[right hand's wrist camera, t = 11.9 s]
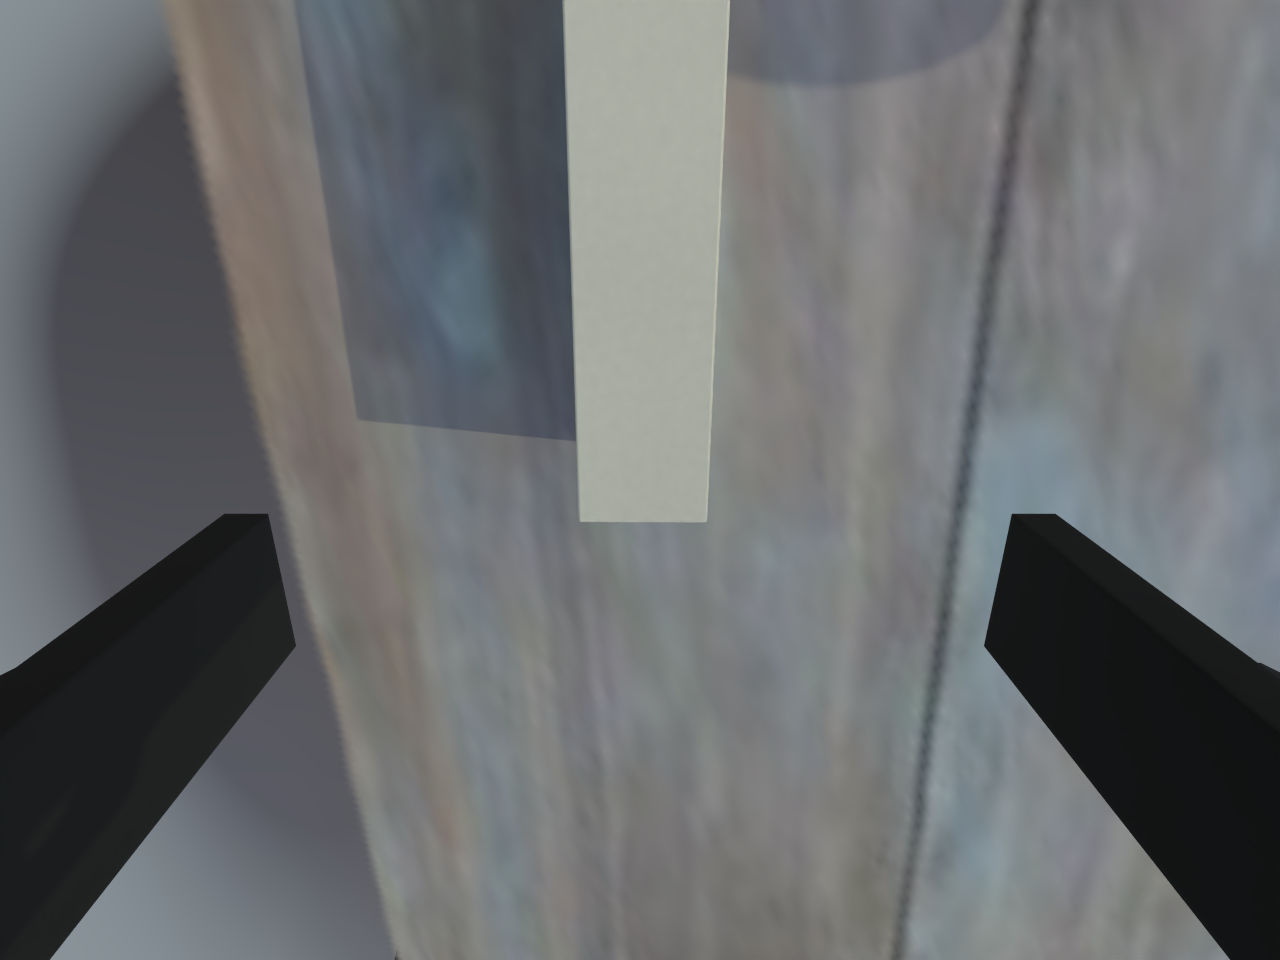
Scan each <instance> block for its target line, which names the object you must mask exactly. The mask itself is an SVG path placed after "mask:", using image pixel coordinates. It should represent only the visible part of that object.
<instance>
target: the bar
mask: <svg viewBox="0 0 1280 960" xmlns="http://www.w3.org/2000/svg"><path fill="white" fill-rule="evenodd" d="M562 8H563V40H564V72H565V104H566V136H567V168H568V200H569V232H570V264H571V296H572V328H573V360H574V392H575V424H576V456H577V488H578V519H579V521H580V522H706V521H707V510H708V487H709V465H710V442H711V420H712V397H713V375H714V352H715V330H716V307H717V285H718V262H719V240H720V217H721V195H722V172H723V150H724V127H725V105H726V82H727V60H728V37H729V15H730V0H562Z"/></svg>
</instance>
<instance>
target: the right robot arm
mask: <svg viewBox="0 0 1280 960" xmlns="http://www.w3.org/2000/svg"><path fill="white" fill-rule="evenodd" d="M295 647H296V644H295V639H294V634H293V630H292V625H291V620H290V616H289V611H288V606H287V601H286V597H285V592H284V587H283V582H282V578H281V573H280V568H279V563H278V559H277V554H276V549H275V545H274V540H273V535H272V530H271V526H270V521H269V516H268V514H224V515H222V516H221V517H220V518H218V519H217V520H216V521H214V522H213V523H212V524H210V525H209V526H207V527H206V528H205V529H203V530H202V531H201V532H199V533H198V534H197V535H195V536H194V537H193V538H191V539H190V540H188V541H187V542H186V543H185V544H183V545H182V546H180V547H179V548H178V549H176V550H175V551H174V552H172V553H171V554H169V555H168V556H167V557H165V558H164V559H163V560H161V561H160V562H159V563H157V564H156V565H155V566H153V567H152V568H151V569H149V570H148V571H146V572H145V573H144V574H142V575H141V576H140V577H138V578H137V579H136V580H134V581H133V582H131V583H130V584H129V585H127V586H126V587H125V588H123V589H122V590H121V591H119V592H118V593H117V594H115V595H114V596H113V597H111V598H110V599H108V600H107V601H106V602H104V603H103V604H102V605H100V606H99V607H98V608H96V609H95V610H94V611H92V612H91V613H89V614H88V615H87V616H85V617H84V618H83V619H81V620H80V621H79V622H77V623H76V624H75V625H73V626H72V627H71V628H69V629H68V630H66V631H65V632H64V633H62V634H61V635H60V636H58V637H57V638H56V639H54V640H53V641H51V642H50V643H49V644H47V645H46V646H45V647H43V648H42V649H41V650H39V651H38V652H37V653H35V654H34V655H32V656H31V657H30V658H28V659H27V660H26V661H24V662H23V663H22V664H20V665H19V666H18V667H16V668H14V669H12V670H10V671H8V672H6V673H4V674H2V675H0V960H50V959H51V957H52V956H53V955H54V954H55V952H56V951H57V950H58V949H59V947H60V946H61V945H62V943H63V942H64V941H65V940H66V938H67V937H68V936H69V935H70V933H71V932H72V931H73V929H74V928H75V927H76V926H77V924H78V923H79V922H80V921H81V919H82V918H83V917H84V915H85V914H86V913H87V912H88V910H89V909H90V908H91V906H92V905H93V904H94V903H95V901H96V900H97V899H98V898H99V896H100V895H101V894H102V892H103V891H104V890H105V889H106V887H107V886H108V885H109V884H110V882H111V881H112V880H113V878H114V877H115V876H116V875H117V873H118V872H119V871H120V870H121V868H122V867H123V866H124V864H125V863H126V862H127V861H128V859H129V858H130V857H131V856H132V854H133V853H134V852H135V850H136V849H137V848H138V847H139V845H140V844H141V843H142V841H143V840H144V839H145V838H146V836H147V835H148V834H149V833H150V831H151V830H152V829H153V827H154V826H155V825H156V824H157V822H158V821H159V820H160V818H161V817H162V816H163V815H164V813H165V812H166V811H167V810H168V808H169V807H170V806H171V805H172V803H173V802H174V801H175V799H176V798H177V797H178V796H179V794H180V793H181V792H182V790H183V789H184V788H185V787H186V785H187V784H188V783H189V782H190V780H191V779H192V778H193V776H194V775H195V774H196V773H197V771H198V770H199V769H200V768H201V766H202V765H203V764H204V763H205V761H206V760H207V759H208V757H209V756H210V755H211V754H212V752H213V751H214V750H215V748H216V747H217V746H218V745H219V743H220V742H221V741H222V740H223V738H224V737H225V736H226V734H227V733H228V732H229V731H230V729H231V728H232V727H233V726H234V724H235V723H236V722H237V720H238V719H239V718H240V717H241V715H242V714H243V713H244V712H245V710H246V709H247V708H248V706H249V705H250V704H251V703H252V701H253V700H254V699H255V698H256V696H257V695H258V694H259V692H260V691H261V690H262V688H263V687H264V686H265V685H266V683H267V682H268V681H269V680H270V678H271V677H272V676H273V675H274V673H275V672H276V671H277V669H278V668H279V667H280V666H281V664H282V663H283V662H284V661H285V659H286V658H287V657H288V655H289V654H290V653H291V652H292V650H293V649H294V648H295ZM984 647H985V648H986V649H987V650H988V652H989V653H990V654H991V655H992V657H993V658H994V659H995V661H996V662H997V663H998V664H999V666H1000V667H1001V668H1002V669H1003V671H1004V672H1005V673H1006V675H1007V676H1008V677H1009V678H1010V680H1011V681H1012V682H1013V684H1014V685H1015V686H1016V687H1017V689H1018V690H1019V691H1020V692H1021V694H1022V695H1023V696H1024V698H1025V699H1026V700H1027V701H1028V703H1029V704H1030V705H1031V706H1032V708H1033V709H1034V710H1035V712H1036V713H1037V714H1038V715H1039V717H1040V718H1041V719H1042V720H1043V722H1044V723H1045V724H1046V726H1047V727H1048V728H1049V729H1050V731H1051V732H1052V733H1053V734H1054V736H1055V737H1056V738H1057V740H1058V741H1059V742H1060V743H1061V745H1062V746H1063V747H1064V748H1065V750H1066V751H1067V752H1068V754H1069V755H1070V756H1071V757H1072V759H1073V760H1074V761H1075V763H1076V764H1077V765H1078V766H1079V768H1080V769H1081V770H1082V771H1083V773H1084V774H1085V775H1086V777H1087V778H1088V779H1089V780H1090V782H1091V783H1092V784H1093V785H1094V787H1095V788H1096V789H1097V791H1098V792H1099V793H1100V794H1101V796H1102V797H1103V798H1104V799H1105V801H1106V802H1107V803H1108V805H1109V806H1110V807H1111V808H1112V810H1113V811H1114V812H1115V813H1116V815H1117V816H1118V817H1119V819H1120V820H1121V821H1122V822H1123V824H1124V825H1125V826H1126V827H1127V829H1128V830H1129V831H1130V833H1131V834H1132V835H1133V836H1134V838H1135V839H1136V840H1137V842H1138V843H1139V844H1140V845H1141V847H1142V848H1143V849H1144V850H1145V852H1146V853H1147V854H1148V856H1149V857H1150V858H1151V859H1152V861H1153V862H1154V863H1155V864H1156V866H1157V867H1158V868H1159V870H1160V871H1161V872H1162V873H1163V875H1164V876H1165V877H1166V878H1167V880H1168V881H1169V882H1170V884H1171V885H1172V886H1173V887H1174V889H1175V890H1176V891H1177V892H1178V894H1179V895H1180V896H1181V898H1182V899H1183V900H1184V901H1185V903H1186V904H1187V905H1188V906H1189V908H1190V909H1191V910H1192V912H1193V913H1194V914H1195V915H1196V917H1197V918H1198V919H1199V921H1200V922H1201V923H1202V924H1203V926H1204V927H1205V928H1206V929H1207V931H1208V932H1209V933H1210V935H1211V936H1212V937H1213V938H1214V940H1215V941H1216V942H1217V943H1218V945H1219V946H1220V947H1221V949H1222V950H1223V951H1224V952H1225V954H1226V955H1227V956H1228V957H1229V959H1230V960H1280V672H1278V671H1276V670H1274V669H1272V668H1270V667H1268V666H1266V665H1264V664H1262V663H1257V662H1256V661H1254V660H1253V659H1252V658H1250V657H1249V656H1248V655H1246V654H1245V653H1243V652H1242V651H1241V650H1239V649H1238V648H1237V647H1235V646H1234V645H1233V644H1231V643H1230V642H1229V641H1227V640H1226V639H1224V638H1223V637H1222V636H1220V635H1219V634H1218V633H1216V632H1215V631H1214V630H1212V629H1211V628H1210V627H1208V626H1207V625H1205V624H1204V623H1203V622H1201V621H1200V620H1199V619H1197V618H1196V617H1195V616H1193V615H1192V614H1191V613H1189V612H1188V611H1186V610H1185V609H1184V608H1182V607H1181V606H1180V605H1178V604H1177V603H1176V602H1174V601H1173V600H1172V599H1170V598H1169V597H1167V596H1166V595H1165V594H1163V593H1162V592H1161V591H1159V590H1158V589H1157V588H1155V587H1154V586H1153V585H1151V584H1150V583H1149V582H1147V581H1146V580H1144V579H1143V578H1142V577H1140V576H1139V575H1138V574H1136V573H1135V572H1134V571H1132V570H1131V569H1130V568H1128V567H1127V566H1125V565H1124V564H1123V563H1121V562H1120V561H1119V560H1117V559H1116V558H1115V557H1113V556H1112V555H1111V554H1109V553H1108V552H1106V551H1105V550H1104V549H1102V548H1101V547H1100V546H1098V545H1097V544H1096V543H1094V542H1093V541H1092V540H1090V539H1089V538H1087V537H1086V536H1085V535H1083V534H1082V533H1081V532H1079V531H1078V530H1077V529H1075V528H1074V527H1073V526H1071V525H1070V524H1068V523H1067V522H1066V521H1064V520H1063V519H1062V518H1060V517H1059V516H1058V515H1056V514H1012V516H1011V521H1010V526H1009V530H1008V535H1007V540H1006V545H1005V549H1004V554H1003V559H1002V563H1001V568H1000V573H999V578H998V582H997V587H996V592H995V597H994V601H993V606H992V611H991V615H990V620H989V625H988V630H987V634H986V639H985V644H984ZM395 960H399V958H398V957H397V952H396V955H395Z"/></svg>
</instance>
